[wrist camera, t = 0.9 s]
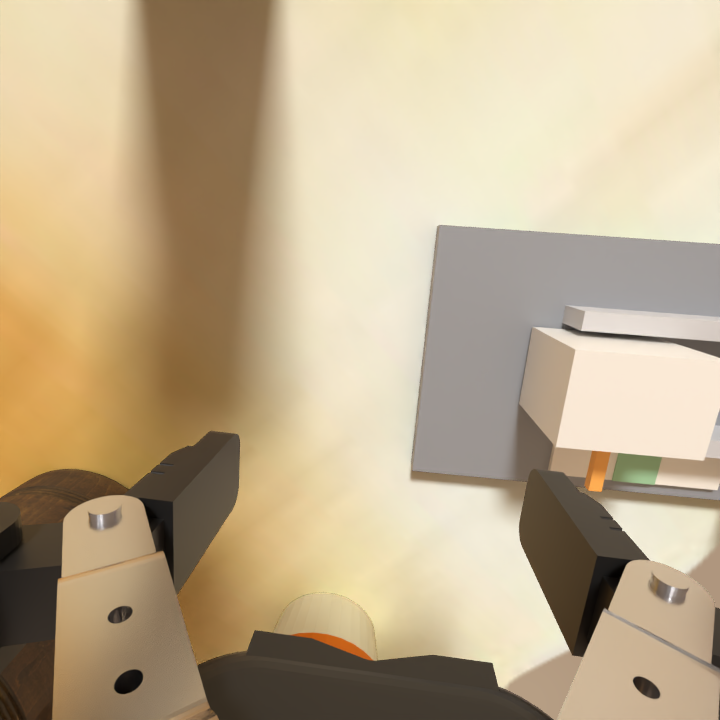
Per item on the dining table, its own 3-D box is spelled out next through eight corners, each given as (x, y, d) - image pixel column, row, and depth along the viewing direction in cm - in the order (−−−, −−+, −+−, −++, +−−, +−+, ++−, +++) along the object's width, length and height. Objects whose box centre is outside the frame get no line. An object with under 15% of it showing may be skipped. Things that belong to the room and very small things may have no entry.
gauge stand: (411, 461, 34) (419, 539, 25) (437, 226, 30) (458, 215, 20) (803, 498, 33) (965, 595, 23) (894, 257, 28) (1138, 261, 19)
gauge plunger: (510, 451, 32) (543, 506, 25) (532, 326, 29) (575, 349, 22) (621, 462, 31) (685, 520, 24) (652, 336, 29) (733, 362, 22)
